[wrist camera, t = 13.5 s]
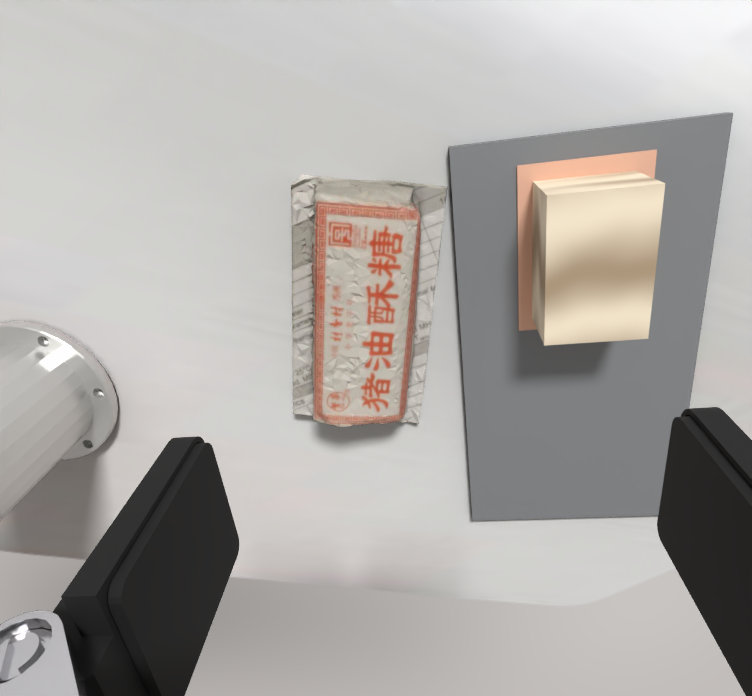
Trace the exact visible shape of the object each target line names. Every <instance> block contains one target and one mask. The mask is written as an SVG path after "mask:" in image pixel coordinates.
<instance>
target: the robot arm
mask: <svg viewBox="0 0 752 696" xmlns="http://www.w3.org/2000/svg"><path fill="white" fill-rule="evenodd" d="M117 415H118V404H117V396H116V393H115V390H114V387H113V384H112V382H111V380H110V378H109V377H108V375H107V373H106V371H105V370H104V368H103V367H102V366H101V365H100V363H99V362H98V361H97V359H96V358H95V357H94V356H93V355H92V354H91V353H90V352H89V351H87V350H86V349H85V348H84V347H83V346H82V345H80V344H79V343H78V342H76V341H75V340H73V339H72V338H71V337H69V336H67V335H65V334H63V333H61V332H59V331H58V330H56V329H53V328H50V327H47V326H44V325H41V324H37V323H32V322H26V321H9V322H3V323H0V521H1V520H2V519H3V518H4V517H5V516H6V515H7V514H8V513H9V512H10V511H11V510H12V509H13V508H14V507H15V505H16V504H17V503H18V502H19V501H20V500H21V499H22V498H23V497H24V496H25V495H26V494H27V493H28V492H29V491H30V490H31V489H32V488H33V487H34V486H35V485H36V484H37V483H38V482H39V481H40V480H41V479H42V478H43V477H44V476H45V475H46V474H47V473H48V472H49V471H50V470H51V469H52V468H53V467H54V466H55V465H56V464H57V463H58V461H59V460H67V459H75V458H79V457H82V456H85V455H88V454H90V453H91V452H93V451H95V450H96V449H98V448H99V447H100V446H101V445H102V444H103V443H104V442H105V441H106V440H107V438H108V437H109V436H110V434H111V433H112V431H113V429H114V427H115V424H116V421H117ZM657 527H658V533H659V537H660V540H661V542H662V544H663V546H664V547H665V549H666V551H667V553H668V555H669V557H670V558H671V560H672V562H673V564H674V566H675V567H676V569H677V571H678V573H679V575H680V577H681V578H682V580H683V582H684V584H685V586H686V587H687V589H688V591H689V593H690V594H691V596H692V598H693V600H694V602H695V604H696V606H697V607H698V609H699V611H700V613H701V615H702V617H703V618H704V620H705V622H706V623H707V626H708V627H709V629H710V631H711V633H712V635H713V636H714V638H715V640H716V642H717V644H718V646H719V647H720V649H721V651H722V653H723V655H724V656H725V658H726V660H727V662H728V664H729V665H730V667H731V669H732V671H733V673H734V675H735V676H736V678H737V680H738V682H739V684H740V686H741V687H742V689H743V691H744V693H745V695H746V696H752V440H751V439H750V438H749V437H748V436H747V435H746V434H745V433H744V432H743V431H742V430H741V429H740V428H739V427H738V426H737V425H736V424H735V423H734V421H733V420H732V419H731V418H730V417H729V416H728V415H727V414H726V413H725V412H724V411H723V410H721V409H720V408H717V407H711V408H693V409H685V410H684V411H683V412H682V414H681V417H675V418H674V419H673V421H672V426H671V433H670V440H669V446H668V453H667V460H666V467H665V473H664V480H663V487H662V494H661V500H660V507H659V514H658V521H657ZM238 551H239V538H238V534H237V530H236V527H235V524H234V520H233V517H232V513H231V510H230V506H229V503H228V499H227V496H226V492H225V489H224V485H223V482H222V478H221V475H220V472H219V468H218V465H217V461H216V458H215V454H214V451H213V448H212V446H211V444H210V443H204V440H203V439H202V438H201V437H182V438H173V439H171V440H170V441H169V442H168V444H167V445H166V447H165V448H164V450H163V451H162V452H161V454H160V455H159V457H158V458H157V460H156V461H155V462H154V464H153V465H152V467H151V468H150V470H149V471H148V473H147V474H146V475H145V477H144V478H143V480H142V481H141V483H140V484H139V485H138V487H137V488H136V490H135V491H134V493H133V494H132V496H131V497H130V498H129V500H128V501H127V503H126V504H125V506H124V507H123V508H122V510H121V511H120V513H119V514H118V516H117V517H116V519H115V520H114V521H113V523H112V524H111V526H110V527H109V529H108V530H107V531H106V533H105V534H104V536H103V537H102V539H101V540H100V542H99V543H98V544H97V546H96V547H95V549H94V550H93V552H92V553H91V555H90V556H89V557H88V559H87V560H86V562H85V563H84V565H83V566H82V568H81V569H80V570H79V572H78V573H77V575H76V576H75V578H74V579H73V581H72V582H71V583H70V585H69V586H68V588H67V589H66V591H65V592H64V593H63V595H62V596H61V597H62V600H61V601H60V602H59V604H58V605H57V607H56V608H55V610H54V611H53V612H51V611H42V610H36V611H32V612H27V613H23V614H21V615H18V616H16V617H13V618H11V619H8V620H7V621H5V622H4V623H2V624H0V696H184V695H185V693H186V690H187V687H188V685H189V682H190V679H191V677H192V674H193V672H194V669H195V666H196V664H197V661H198V658H199V656H200V653H201V650H202V648H203V645H204V643H205V640H206V637H207V635H208V632H209V629H210V626H211V624H212V621H213V619H214V616H215V614H216V611H217V608H218V605H219V603H220V600H221V598H222V595H223V592H224V590H225V587H226V584H227V582H228V579H229V576H230V574H231V571H232V569H233V566H234V563H235V561H236V558H237V555H238Z"/></svg>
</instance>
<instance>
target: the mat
mask: <svg viewBox="0 0 752 696" xmlns="http://www.w3.org/2000/svg"><path fill="white" fill-rule="evenodd" d="M732 117H733V113H719V114H711V115H703V116H695V117H687V118H679V119H670V120H662V121H654V122H646V123H638V124H629V125H621V126H613V127H605V128H597V129H588V130H580V131H572V132H564V133H556V134H548V135H539V136H531V137H523V138H515V139H507V140H498V141H490V142H482V143H474V144H466V145H458V146H449V158H450V174H451V190H452V205H453V221H454V237H455V253H456V269H457V285H458V301H459V317H460V333H461V349H462V365H463V381H464V397H465V413H466V429H467V445H468V461H469V477H470V493H471V509H472V521H486V520H521V519H556V518H591V517H626V516H658V514H659V507H660V500H661V494H662V487H663V480H664V473H665V467H666V460H667V453H668V446H669V440H670V433H671V426H672V421H673V419H674V418H675V417H681V414H682V412H683V411H684V410H685V409H689V405H690V398H691V392H692V385H693V378H694V372H695V365H696V358H697V352H698V345H699V338H700V331H701V325H702V318H703V311H704V305H705V298H706V291H707V285H708V278H709V271H710V264H711V258H712V251H713V244H714V238H715V231H716V224H717V218H718V211H719V204H720V197H721V191H722V184H723V177H724V171H725V164H726V157H727V151H728V144H729V137H730V130H731V124H732ZM628 171H638V172H640V173H643V174H645V175H647V176H650V177H652V178H654V179H656V180H659V181H661V182H663V183H665V192H664V201H663V210H662V219H661V228H660V237H659V246H658V255H657V264H656V273H655V282H654V291H653V300H652V309H651V318H650V327H649V336H648V339H637V340H622V341H607V342H592V343H576V344H561V345H546V346H544V344H543V342H542V339H541V337H540V335H539V332H538V330H537V328H536V325H535V323H534V321H533V318H532V212H533V181H542V180H552V179H561V178H571V177H580V176H590V175H599V174H609V173H618V172H628Z"/></svg>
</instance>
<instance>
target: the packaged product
mask: <svg viewBox="0 0 752 696" xmlns="http://www.w3.org/2000/svg"><path fill="white" fill-rule="evenodd" d="M446 194H447V187H443V186H434V185H424V184H415V183H406V182H396V181H372V180H351V179H342V178H332V177H322V176H312V175H300V176H299V177H298V178H297V179H296V180H295V182H294V183H293V184H292V185H291V196H292V309H293V311H292V320H293V414H301V415H311V416H312V417H313V419H314V421H315V422H320V423H326V424H329V425H333V426H336V427H346V426H352V425H355V424H357V425H363V424H372V423H375V424H377V423H379V424H386V423H391V422H401V423H404V422H406V421H408V422H413V423H418V424H419V419H420V412H421V404H422V397H423V390H424V382H425V374H426V365H427V355H428V346H429V336H430V327H431V322H432V312H433V300H434V290H435V283H436V276H437V272H438V264H439V254H440V245H441V235H442V226H443V215H444V209H445V202H446Z"/></svg>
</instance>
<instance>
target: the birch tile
mask: <svg viewBox="0 0 752 696" xmlns="http://www.w3.org/2000/svg"><path fill="white" fill-rule="evenodd" d="M664 192H665V183H663V182H661V181H659V180H656V179H654V178H652V177H650V176H647V175H645V174H643V173H640V172H638V171H628V172H618V173H609V174H599V175H590V176H580V177H571V178H561V179H552V180H542V181H533V212H532V318H533V321H534V323H535V325H536V328H537V330H538V332H539V335H540V337H541V339H542V342H543V344H544V346H546V345H561V344H576V343H592V342H607V341H622V340H637V339H648V336H649V327H650V318H651V309H652V300H653V291H654V282H655V273H656V264H657V255H658V246H659V237H660V228H661V219H662V210H663V201H664Z"/></svg>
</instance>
